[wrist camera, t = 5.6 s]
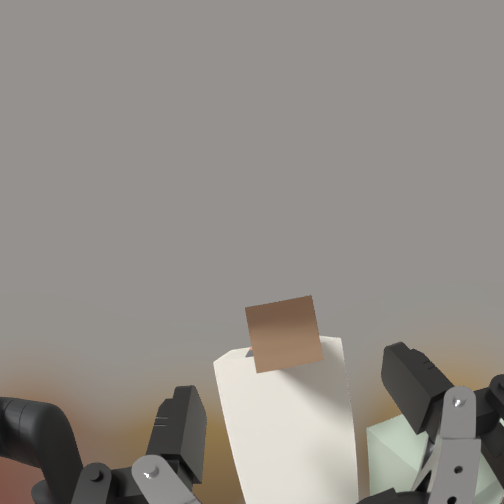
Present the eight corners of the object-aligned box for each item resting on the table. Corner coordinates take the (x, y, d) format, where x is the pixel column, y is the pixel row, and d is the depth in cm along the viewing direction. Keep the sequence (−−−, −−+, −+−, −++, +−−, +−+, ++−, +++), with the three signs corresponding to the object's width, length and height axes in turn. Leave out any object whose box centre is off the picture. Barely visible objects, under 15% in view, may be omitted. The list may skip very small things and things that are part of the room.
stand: (356, 583, 9) (340, 336, 20) (279, 599, 9) (213, 361, 20) (338, 541, 21) (312, 334, 31) (277, 553, 21) (230, 349, 31)
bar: (323, 359, 11) (311, 295, 12) (256, 373, 11) (244, 307, 12) (282, 339, 34) (278, 316, 35) (260, 343, 34) (256, 321, 35)
